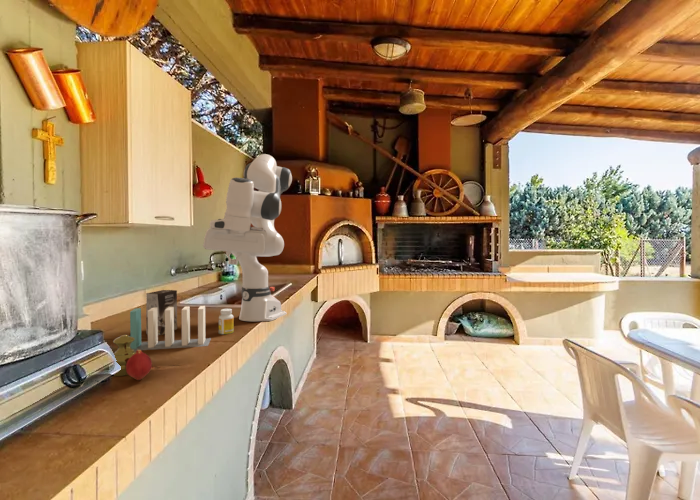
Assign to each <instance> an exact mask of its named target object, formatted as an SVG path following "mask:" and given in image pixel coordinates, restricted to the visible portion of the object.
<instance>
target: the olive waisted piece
mask: <svg viewBox="0 0 700 500" xmlns="http://www.w3.org/2000/svg"><path fill="white" fill-rule="evenodd" d="M134 340H135V338H134V337H132V336H130V335H128V334H122V335H120V336H118V337H116V338H114V339H113V341H112V342H113V344H115V345H116V346H117V350H115V351H114V352H113V354H114V355H115V358H116V360H117V361H116V362H117V363H118V364H119V365H120V366H121V370H120V371H119V372H118V373H116V374H115V375H114V376H113V377H123V376H129V375H128V373H127V372H126V364H127V361H128V360H129V358H130V357H131V356H132V355H134V354H135V353H136V351H134V349H132V348H131V347H130V344H131V343H132V342H133V341H134Z"/></svg>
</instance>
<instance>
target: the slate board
mask: <svg viewBox="0 0 700 500" xmlns="http://www.w3.org/2000/svg"><path fill="white" fill-rule="evenodd" d="M211 340H212V337H209V338H208V337H207V338H206V337H205V342H204V344H203V345H198V338H190V342H189V343H188V345H187V346H182V339H174V343H173V344H172V345H171V346H170V347H165V340H158V343H157V344H156V345H155V347H154V348H148V341H141V345H140V346H138V347H137V348H136V349H134V351H137V350H141V351H147V350H148V351H149V350H151V351H152V350H167V349H181V348H198V347H199V348H200V347H208V346H209V345H210V342H211ZM130 347H131V344H130Z"/></svg>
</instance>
